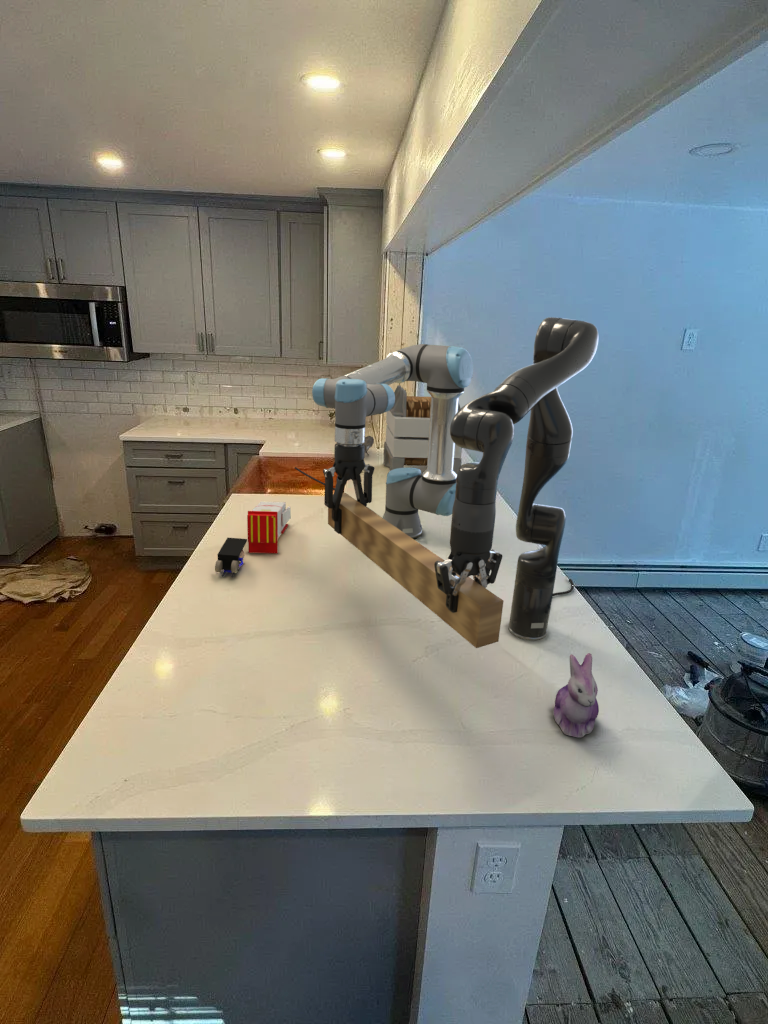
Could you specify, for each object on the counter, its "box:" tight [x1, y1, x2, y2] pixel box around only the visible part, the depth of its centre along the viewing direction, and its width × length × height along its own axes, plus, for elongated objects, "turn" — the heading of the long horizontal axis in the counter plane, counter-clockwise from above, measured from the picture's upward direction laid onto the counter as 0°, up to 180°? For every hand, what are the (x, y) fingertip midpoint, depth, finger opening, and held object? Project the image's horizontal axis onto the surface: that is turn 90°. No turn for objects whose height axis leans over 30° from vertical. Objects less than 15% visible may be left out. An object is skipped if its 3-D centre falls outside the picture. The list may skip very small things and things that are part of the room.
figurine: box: [553, 652, 600, 738], centre depth 108 cm, size 9×10×15 cm
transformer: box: [383, 384, 463, 474], centre depth 268 cm, size 34×33×41 cm
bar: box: [327, 492, 504, 649], centre depth 126 cm, size 66×5×8 cm, turn 29°
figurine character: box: [214, 537, 248, 578], centre depth 166 cm, size 7×8×15 cm
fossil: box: [363, 435, 375, 456], centre depth 301 cm, size 22×10×15 cm
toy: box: [246, 500, 292, 554], centre depth 190 cm, size 12×13×30 cm
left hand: (347, 530), depth 149 cm, fingers closed on bar, 5 cm apart
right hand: (464, 607), depth 106 cm, fingers closed on bar, 5 cm apart
